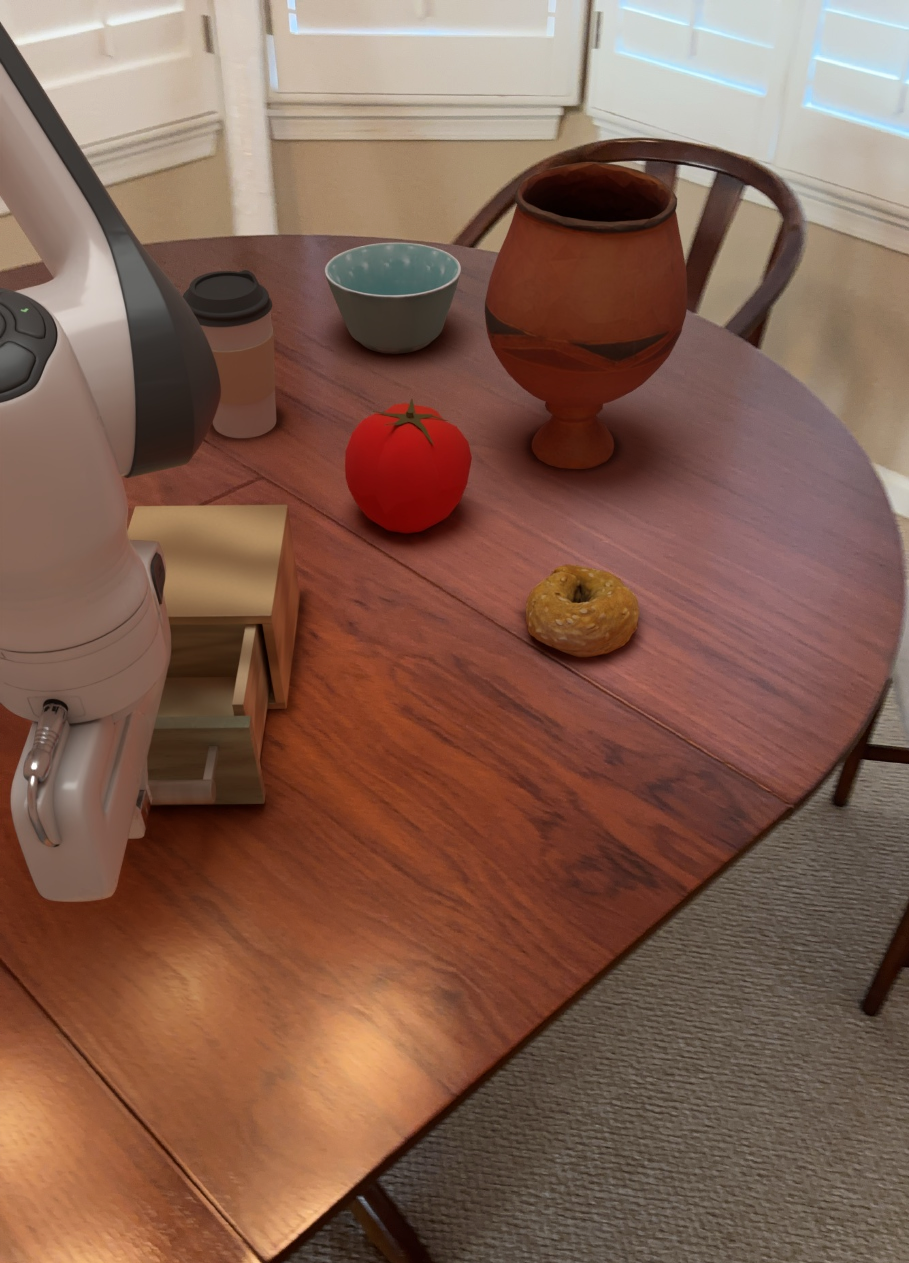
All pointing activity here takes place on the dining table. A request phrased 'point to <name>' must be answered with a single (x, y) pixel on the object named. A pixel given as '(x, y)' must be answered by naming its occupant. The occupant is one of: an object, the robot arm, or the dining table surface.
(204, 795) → the tray drawer
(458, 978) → the dining table surface
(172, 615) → the cabinet
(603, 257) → the goblet
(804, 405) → the dining table surface
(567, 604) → the bagel
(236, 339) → the coffee cup
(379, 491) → the tomato
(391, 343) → the bowl
